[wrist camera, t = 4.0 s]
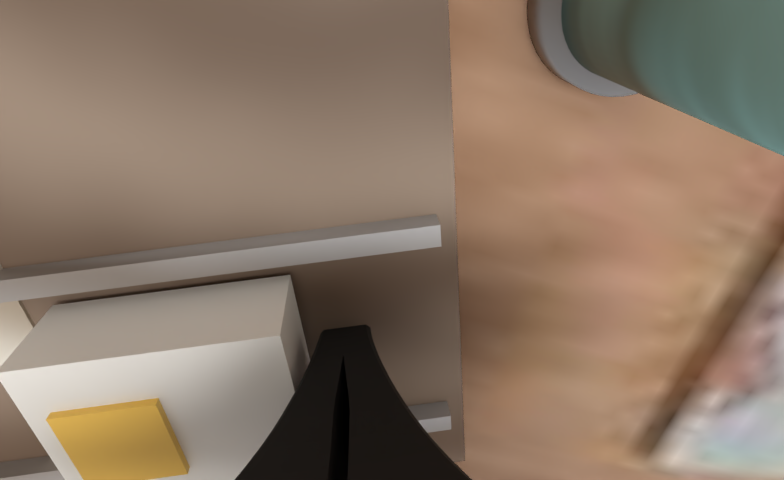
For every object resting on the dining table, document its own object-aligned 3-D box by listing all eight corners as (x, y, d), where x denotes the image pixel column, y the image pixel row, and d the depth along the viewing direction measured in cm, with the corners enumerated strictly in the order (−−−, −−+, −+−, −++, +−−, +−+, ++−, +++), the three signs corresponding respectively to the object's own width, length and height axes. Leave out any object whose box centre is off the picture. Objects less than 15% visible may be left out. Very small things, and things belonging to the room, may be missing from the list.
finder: (322, 411, 15) (318, 490, 13) (123, 438, 15) (84, 522, 13) (290, 274, 13) (278, 341, 10) (52, 305, 13) (-11, 380, 10)
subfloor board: (459, 436, 18) (468, 476, 17) (-105, 515, 17) (-144, 563, 16) (430, -216, 9) (445, -248, 8) (-706, -103, 9) (-907, -116, 7)
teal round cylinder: (682, 78, 12) (1009, 187, 6) (524, 96, 12) (703, 225, 6) (717, -118, 10) (1239, -231, 4) (530, -98, 10) (802, -186, 4)
